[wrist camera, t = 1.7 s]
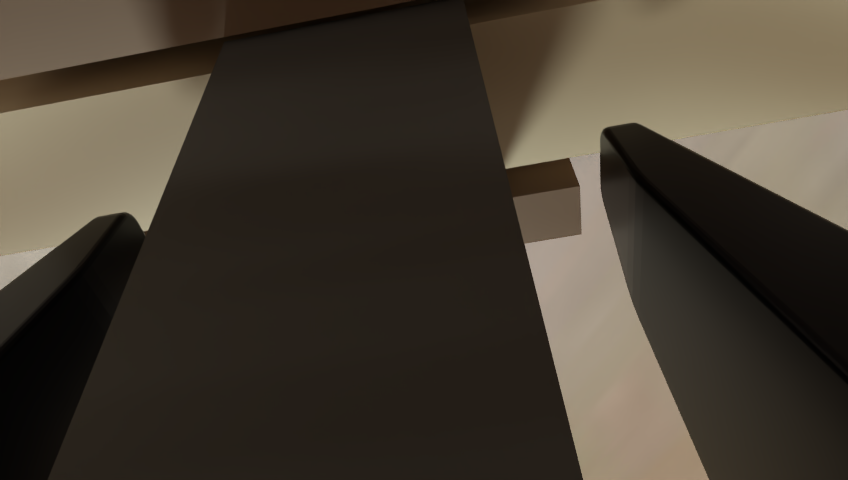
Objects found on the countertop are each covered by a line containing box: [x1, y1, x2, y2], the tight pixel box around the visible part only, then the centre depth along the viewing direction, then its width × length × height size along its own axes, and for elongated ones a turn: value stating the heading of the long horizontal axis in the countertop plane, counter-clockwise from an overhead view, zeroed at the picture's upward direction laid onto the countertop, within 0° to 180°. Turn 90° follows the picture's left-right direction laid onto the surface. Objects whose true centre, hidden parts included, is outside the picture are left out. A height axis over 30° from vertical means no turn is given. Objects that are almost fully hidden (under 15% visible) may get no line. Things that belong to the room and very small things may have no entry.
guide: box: [0, 0, 581, 243], centre depth 11 cm, size 5×8×2 cm
